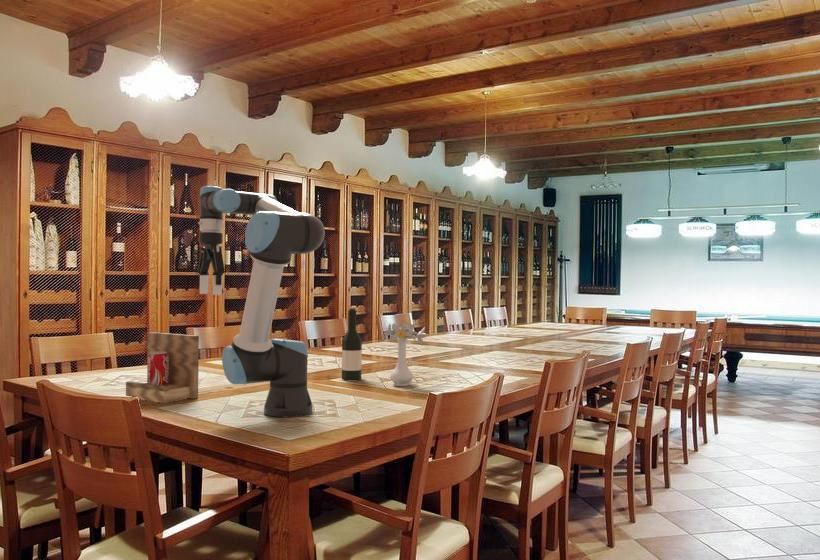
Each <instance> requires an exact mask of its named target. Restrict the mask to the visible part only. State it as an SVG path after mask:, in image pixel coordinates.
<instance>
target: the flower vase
mask: <svg viewBox="0 0 820 560" xmlns="http://www.w3.org/2000/svg"><path fill="white" fill-rule="evenodd" d="M414 329H415V324H409V325H408V324H406V323H405V322H403V323H402V325H401V326H398V325H396V323H392V324H391V323H389V324H388V326H387V329H386V330H385V331H384V332H383V337H381V340H384V339H385V338H386V337H388V336H389V341H390V342H392V341H394V339H396V340H397V350H398V352H397V362H396V365H395V368H394V369H393V370H392V371H391V372H390V374H389V375H390V376H389V378H390V380H391V382H393V385H394V386H396V387H407V386H409V385H410V383H411V382H412V381H413V380H414V374H413V372H412V371H411V369H409V367H408V364H407V355H406V353H407V352H406V349H407V342H408V339H409V340H411V339H413V340H414V341H416V340H417V344H420V345H421V346H423V344H424V338H426V337H427V333H425V331H426V326H424V327H423V328H422V329H421V330H419V332H417V331H415V330H414ZM415 336H416V337H415Z"/></svg>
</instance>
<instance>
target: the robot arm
mask: <svg viewBox="0 0 820 560" xmlns="http://www.w3.org/2000/svg"><path fill="white" fill-rule="evenodd" d="M198 200H199V221H198V222H197V224H198V225H199V231H200V232H199V234H198V235H199V240H198V241H199V242H198V243H200V244H202V245H204V246H201V247H200V255H199V260H198V265H197V274H198V275H199V295H208V294H209V275H210V273H209V270H210V265H211V267H212V271H213V272H212V274H211V275H212V276H213V277H212V296H222V295H223V274H225V273H226V271H225V269H226V268H225V264H224V258H223V252H222V249H223V248H222V244H223V233H222V232H223V231H224V230H223V228H224V222H223V221H224V219H223V217H224V216H223V215H224V214H233V215H250V216H251V217H250V219H249V221H248V222H247V224H246V227H245V231H244V232H245V233H244V238H245V240H244V244H245V247H246V249H247V250H248V251H249V256H250V258H251V259H252V261H253V264H252V268H251V274H250V277H249V279H250V280H249V284H248V290H247V294H246V298H245V299H246V300H245V304H244V309H243V313H242V314H243V315H242V319H241V320H242V321H241V324H240V331H239V333H237V334H236V335H234V336H233V337H232V344H231V345H227V346H225V347H224V348H223V350H222V353H221V363H222V364H221V365H222V368H223V373H224V374H225V377H226V379H227V380H228V382H230V383H231V384H233V385H247V384H248V385H249V384H257V383H267V382H269V390H268V392H267V396H266V399H265V403H264V405H263V414H264V415H266V416H270V417H276V418H292V417H293V418H294V417H295V418H296V417H302V416H303V417H304V416H308V415H310V414H312V413H313V403H312V400H311V397H310V393H309V390H308V357H309V355H308V354H309V353H308V345H307V343H306V342H304V341H300V340H296V339H295V340H294V339H284V338H271V339H270V334H271V333H270V332H271V329H272V325H273V324H272V323H273V318H274V315H275V309H276V304H277V301H278V297H279V296H278V295H279V290H280V287H281V286H280V285H281V282H282V277H283V271H284V267H285V266H288V265H289V264H290V263H291V259H292V255H294V254H295V255H296V254H298V255H305V254H309V253H312V252H314V251H316V250H317V249H318V248H320V246H321V245H322V244H323V241H324V240H325V236H326V231H325V226H324V224H323V222H322V221H321V219H320V218H318V217H316V216H314V215H313V214H310V213H308V212H299V211H297V210H294V209H293V208H292V207H289V206H287V205H285V204H282V203H280V202H279V201H278V199H277V196H275V195H273V194H269V193H257V192H248V191H240V190H239V191H238V190H235V189H232V188H222V187H220V186H214V185H205V186H201V187H200V189H199V198H198Z"/></svg>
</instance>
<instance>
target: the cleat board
mask: <svg viewBox="0 0 820 560" xmlns="http://www.w3.org/2000/svg"><path fill="white" fill-rule="evenodd" d="M199 339H200V336H199V335H197V334H196V335H194V334H182V333H166V332H154V331H151V332H147V349H146V350H147V352H146V353H147V357H146V358H147V359H146V360H147V361H148V356H149V355H150V352H155V351H165V352H167V355H168V357H169V381H168V384H167V385H166V386H161V385H153V384H148V382H147V381H146V382H144V383H143V382H138V381H130V380H129V381H125V397H126V396H132V397H138V398H139V400H140V399H141V400H140V401H145V400H147V401H146V402H152V401H153V403H158V402H160V403H159V404H169V402H170V403H174V402H173V401H175V402H179V400H180V401H184V400H183V399H185V400H188V399H187V398H193V399H192V400H195V399H194V398H197V399H199V357H200V356H199V350H200V346H199V344H200V343H199V342H200V340H199Z"/></svg>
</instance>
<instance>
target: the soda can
mask: <svg viewBox="0 0 820 560" xmlns="http://www.w3.org/2000/svg"><path fill="white" fill-rule="evenodd" d="M146 365H147V366H146V368H147V369H146V371H147V372H146V375H147V376H146V383H147V382H148V384H153V385H161V386H166V385H167V384H168V381H169V357H168V355H167V352H165V351H155V352H150V355H149V356H148V361H147V364H146Z"/></svg>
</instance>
